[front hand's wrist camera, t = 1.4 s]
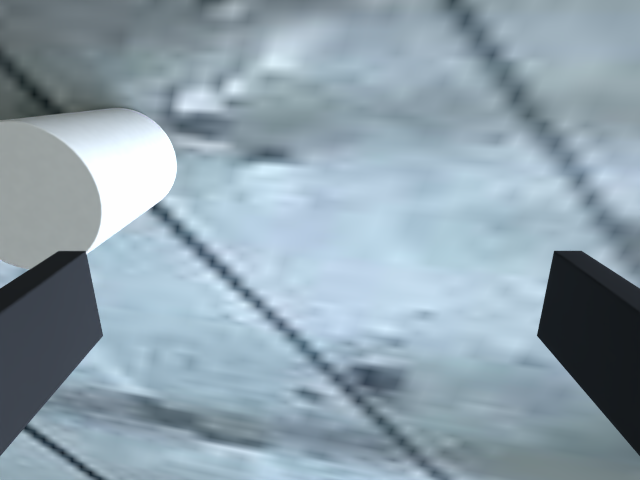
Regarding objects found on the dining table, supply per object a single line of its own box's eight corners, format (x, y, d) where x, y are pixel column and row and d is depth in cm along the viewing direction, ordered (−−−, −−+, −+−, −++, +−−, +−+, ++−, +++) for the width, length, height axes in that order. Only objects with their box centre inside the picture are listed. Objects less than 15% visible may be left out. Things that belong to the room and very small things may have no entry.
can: (149, 92, 31) (52, 97, 20) (193, 191, 34) (129, 245, 22) (55, 127, 32) (-90, 150, 21) (104, 221, 34) (0, 288, 23)
